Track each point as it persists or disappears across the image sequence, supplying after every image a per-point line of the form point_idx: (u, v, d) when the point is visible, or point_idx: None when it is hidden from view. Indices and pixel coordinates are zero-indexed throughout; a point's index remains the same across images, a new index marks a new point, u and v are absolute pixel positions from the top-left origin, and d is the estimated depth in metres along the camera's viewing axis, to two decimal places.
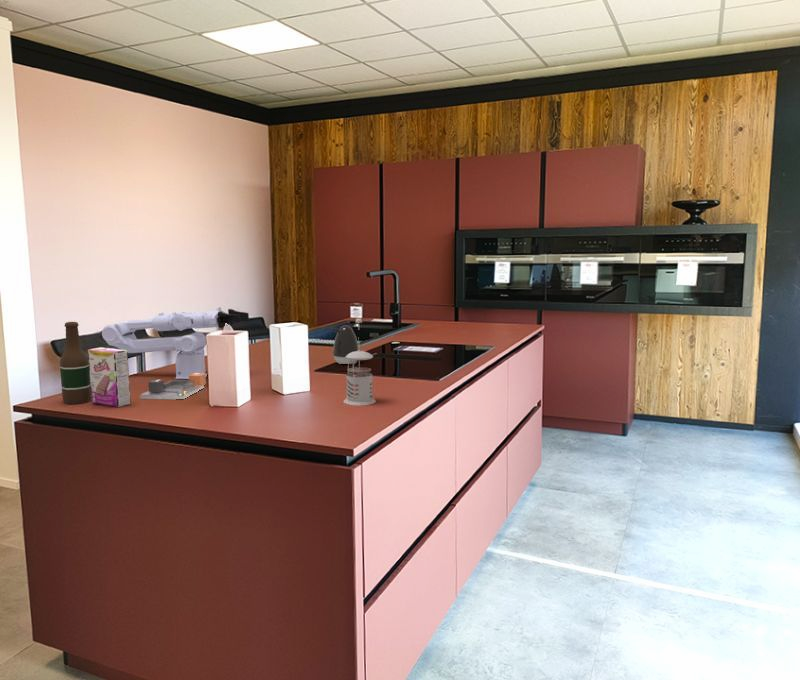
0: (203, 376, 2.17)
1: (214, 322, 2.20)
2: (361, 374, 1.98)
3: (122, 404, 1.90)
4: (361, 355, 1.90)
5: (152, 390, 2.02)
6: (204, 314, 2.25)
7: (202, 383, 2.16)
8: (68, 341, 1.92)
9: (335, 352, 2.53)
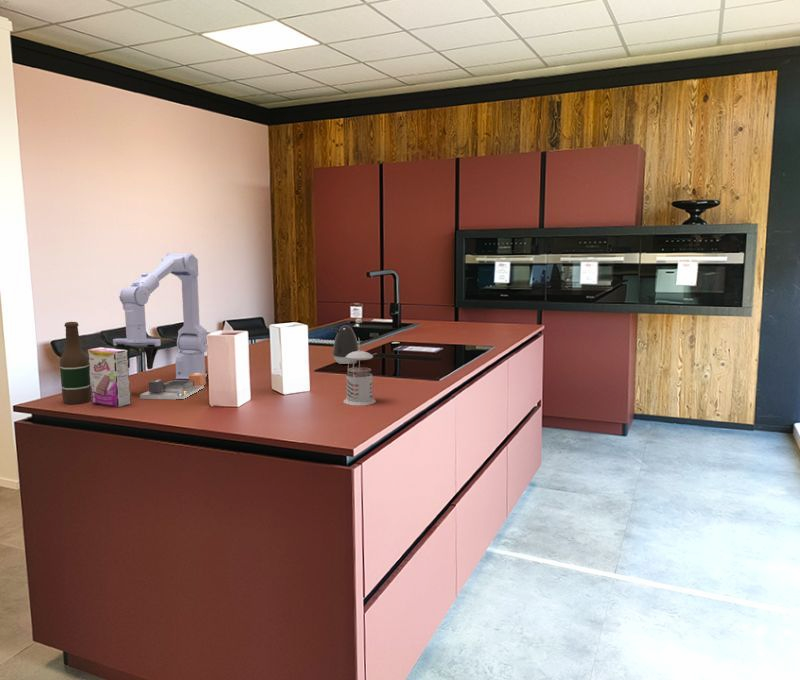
0: (203, 376, 2.17)
1: None
2: (361, 374, 1.98)
3: (122, 404, 1.90)
4: (361, 355, 1.90)
5: (152, 390, 2.02)
6: (126, 326, 1.99)
7: (202, 383, 2.16)
8: (68, 341, 1.92)
9: (335, 352, 2.53)
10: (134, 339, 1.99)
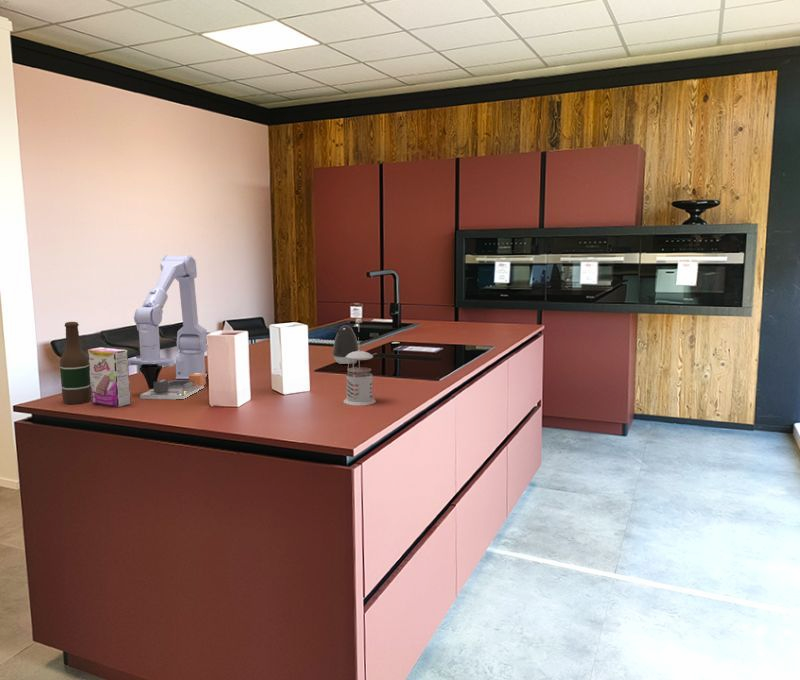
0: (203, 376, 2.17)
1: None
2: (361, 374, 1.98)
3: (122, 404, 1.90)
4: (361, 355, 1.90)
5: (157, 390, 2.01)
6: (140, 346, 2.00)
7: (202, 383, 2.16)
8: (68, 341, 1.92)
9: (335, 352, 2.53)
10: (148, 359, 1.99)
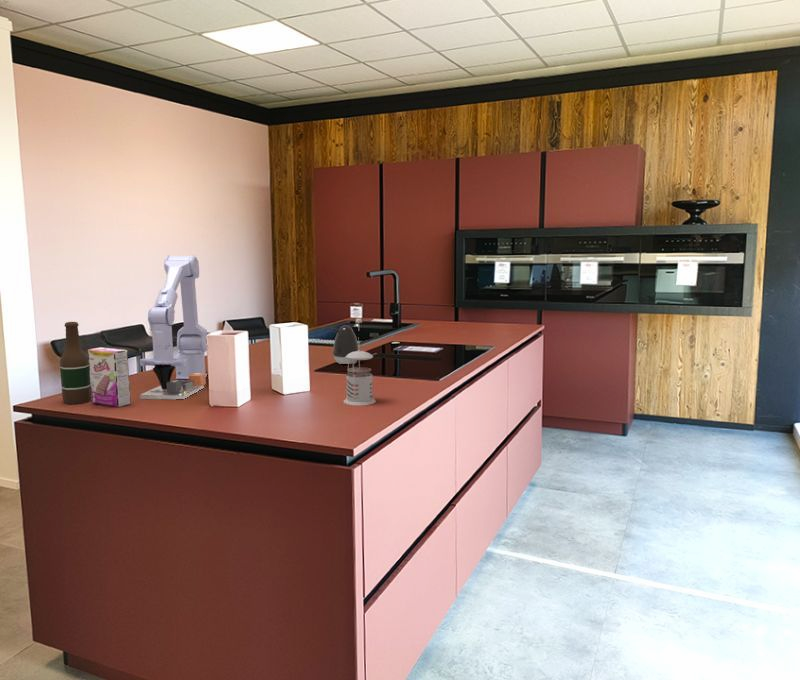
0: (203, 376, 2.17)
1: None
2: (361, 374, 1.98)
3: (122, 404, 1.90)
4: (361, 355, 1.90)
5: (170, 390, 2.01)
6: (153, 347, 1.99)
7: (202, 383, 2.16)
8: (68, 341, 1.92)
9: (335, 352, 2.53)
10: (161, 360, 1.99)
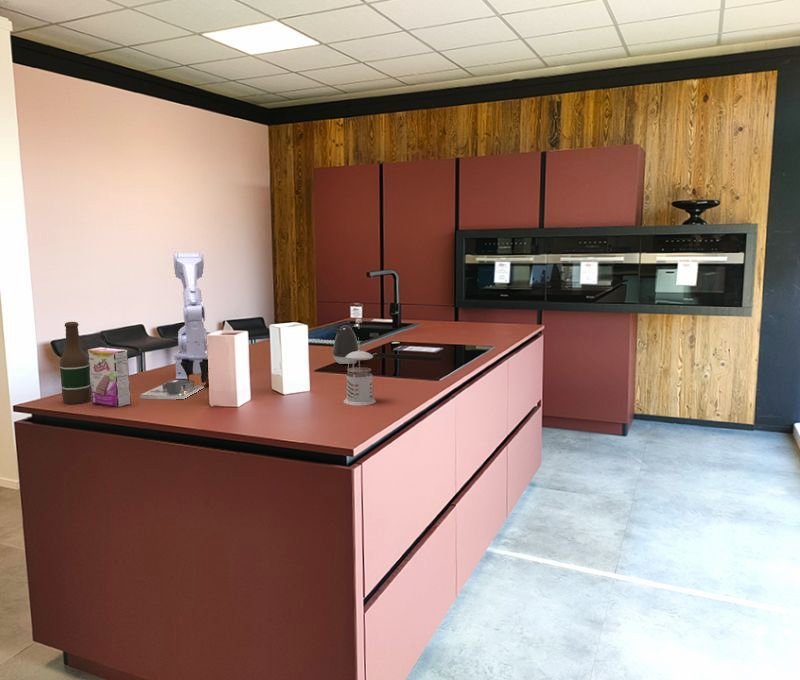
0: None
1: None
2: (361, 374, 1.98)
3: (122, 404, 1.90)
4: (361, 355, 1.90)
5: (170, 390, 2.01)
6: (187, 342, 2.13)
7: (202, 383, 2.16)
8: (68, 341, 1.92)
9: (335, 352, 2.53)
10: (194, 354, 2.13)
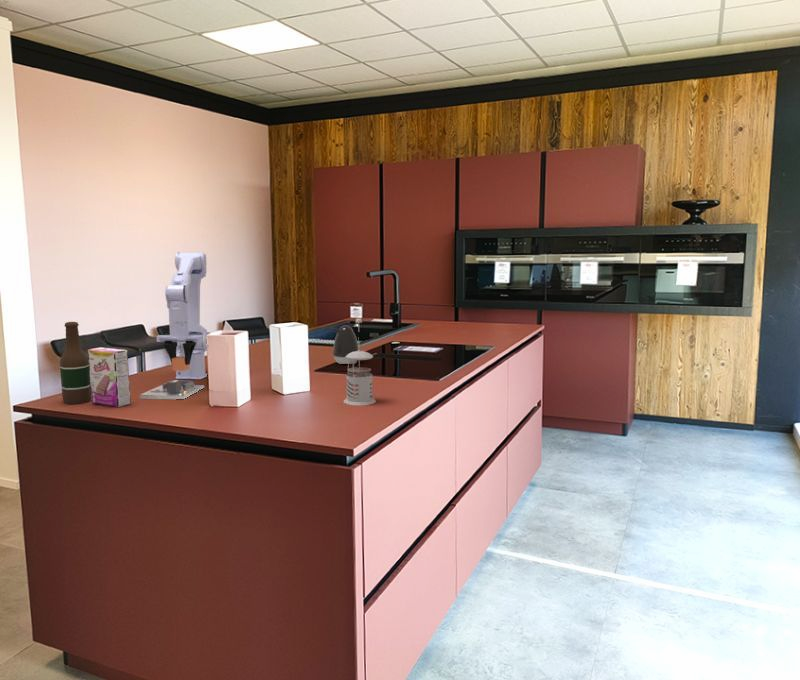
0: None
1: None
2: (361, 374, 1.98)
3: (122, 404, 1.90)
4: (361, 355, 1.90)
5: (170, 390, 2.01)
6: (170, 323, 2.06)
7: (186, 366, 2.09)
8: (68, 341, 1.92)
9: (335, 352, 2.53)
10: (178, 335, 2.06)
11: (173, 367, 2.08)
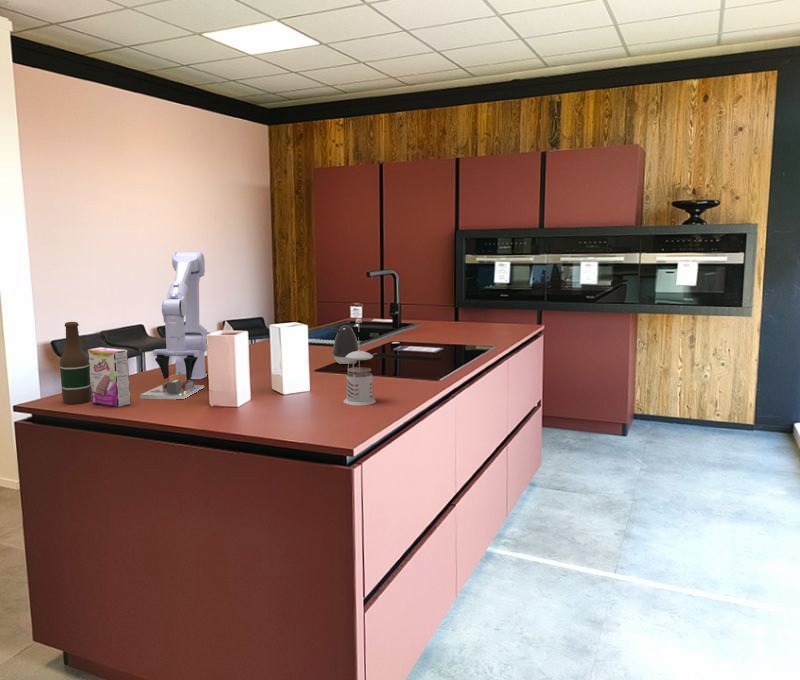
0: (184, 377, 2.09)
1: None
2: (361, 374, 1.98)
3: (122, 404, 1.90)
4: (361, 355, 1.90)
5: (170, 390, 2.01)
6: (166, 337, 2.05)
7: (183, 384, 2.08)
8: (68, 341, 1.92)
9: (335, 352, 2.53)
10: (174, 350, 2.05)
11: None
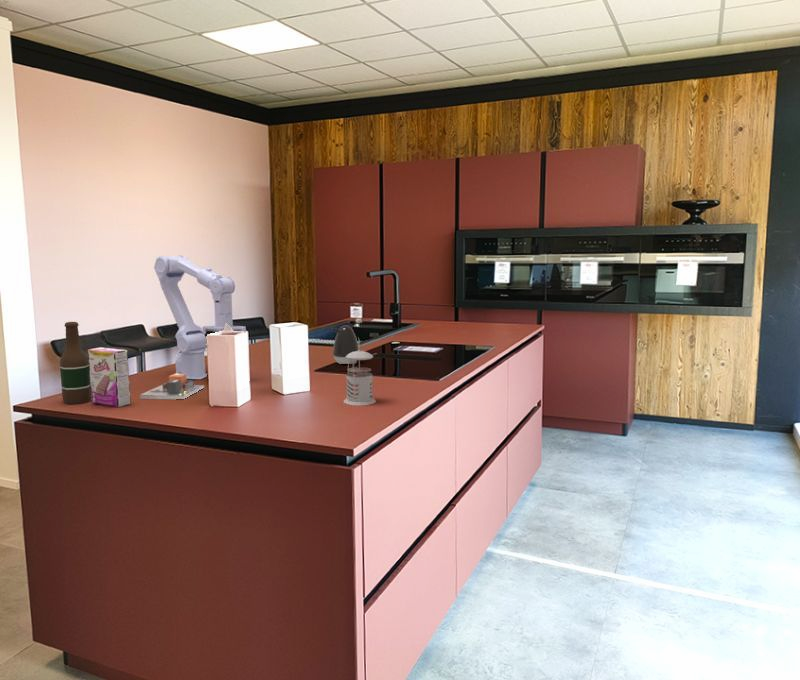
0: (184, 377, 2.09)
1: None
2: (361, 374, 1.98)
3: (122, 404, 1.90)
4: (361, 355, 1.90)
5: (170, 390, 2.01)
6: (215, 314, 2.18)
7: (183, 384, 2.08)
8: (68, 341, 1.92)
9: (335, 352, 2.53)
10: (223, 326, 2.18)
11: None
